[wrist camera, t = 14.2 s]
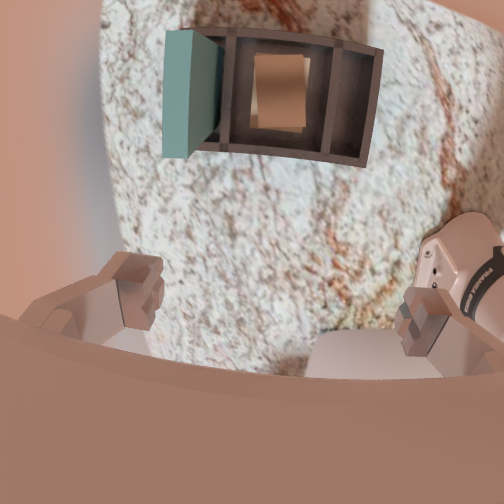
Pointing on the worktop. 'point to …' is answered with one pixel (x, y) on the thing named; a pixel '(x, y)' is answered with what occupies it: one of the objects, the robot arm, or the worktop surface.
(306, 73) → the birch offcut
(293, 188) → the worktop surface
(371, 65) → the rack
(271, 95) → the walnut offcut
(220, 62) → the teal panel
